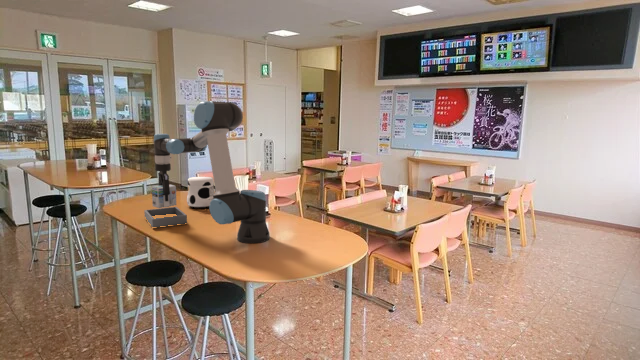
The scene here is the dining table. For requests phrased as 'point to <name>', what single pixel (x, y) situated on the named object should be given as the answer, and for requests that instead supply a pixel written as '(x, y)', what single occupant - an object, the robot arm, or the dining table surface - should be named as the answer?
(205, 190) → the milk container
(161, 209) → the grey bin
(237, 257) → the dining table surface
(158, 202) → the light bulb box
